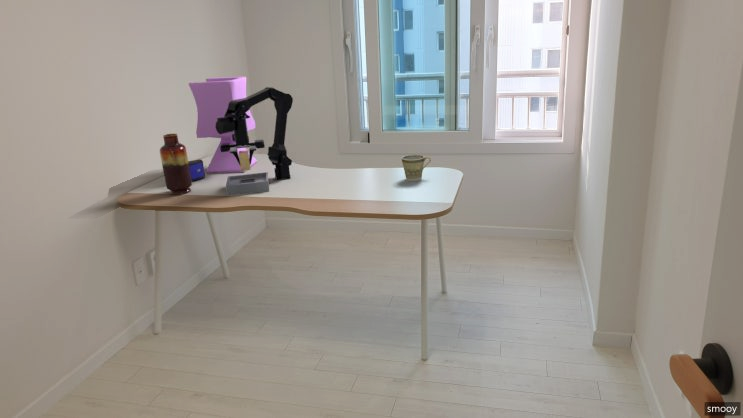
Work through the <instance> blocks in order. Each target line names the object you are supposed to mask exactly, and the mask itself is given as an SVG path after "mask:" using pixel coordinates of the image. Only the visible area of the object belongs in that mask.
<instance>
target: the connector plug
mask: <svg viewBox="0 0 743 418" xmlns="http://www.w3.org/2000/svg"><path fill="white" fill-rule="evenodd" d="M248 151H249V149H247V150H246V151H239V158H240V165H241V171H245V170H247V171H251V169H252V167H251V166H250V162H249V152H248ZM245 172H246V171H245Z"/></svg>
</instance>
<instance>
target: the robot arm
mask: <svg viewBox="0 0 743 418" xmlns="http://www.w3.org/2000/svg"><path fill="white" fill-rule="evenodd" d="M268 99H269V100H271V101H273V104H274V105H273V107H274V109H275V111H276V115H275V116H276V117H275V126H274V137H273V142H272V143H273V144H272V145H271V146H268V150H267V154H266V155H267V157H268V160H269V161H270V162H271V165H272V166H274V176H275V177H274V178H276V180H277V181H278V180H288V179H291V171H290V166H292V164H293V163H292V162H293V160H292V159H291V158H290V157H288V156H287V154H288V153H287V151H288V150H287V149H286V148H287V147H286V145H285V141H286V130H287V123H288V120H287V119H288V113H289V112H290V111H291V109H292V106H293V103H294V102H293V101H294V98H293V97H292V95H291V94H290V93H286V92H284V91H281V90H278V89H276V88H274V87H270V86H269V87H268V86H266V87H265V88H263V89H261V90H259V91H257V92H255V93H253V94H250V95H248V96H246V98H243V99H237V100H232V101H230V102H229V105H228V109H227V111H226V113H225V116H224V117H222V118H217V122H216V125H215V127H216V130H217V132H218V133H219V134H224V133H229V132H233V131H234V134H232V139H233V142H234V141H235V143H236V144H233V145H230V143H222V144H221V146H220V149H221V152H228V151H229V150H230V153H233V155H234V156H235V157H236V159H237V161H238V163H239V165H240V158H239V154H238V150H237V148H246V149H247V148H249V149H248V151H249V162H250V165H251V161H252V156H253V155H254V152H257V149H264V148H266V147H265V140H264V139H255V140H254V142H250V137H249V134H248V133H249V131H247V125H246V118H250V116H248V115H247V114H246V112H247V111H248V110H250V109H251V108H252V107H254V106H255V105H257V104H260V103H261V102H264V101H265V100H268ZM253 157H254V156H253ZM240 166H241V165H240Z"/></svg>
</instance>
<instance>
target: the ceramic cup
mask: <svg viewBox="0 0 743 418" xmlns="http://www.w3.org/2000/svg"><path fill="white" fill-rule="evenodd" d="M426 159H429V160H428V162H427V163H426V164H425V165H424V163H425V161H426ZM401 162H402V166H403V170H404V175H405V176H404V177H405V179H406V181H407V182H408V181H409V182H416V181H417V182H418V181H420V180H422V178H423V171H424V169H425V168H426V167H427V166H428V165H429V164H430V163H431V157H429V156H424V155H422V154H407V155H404V156H402V157H401Z"/></svg>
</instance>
